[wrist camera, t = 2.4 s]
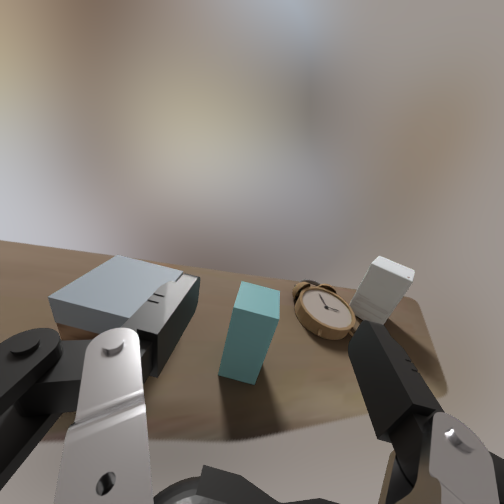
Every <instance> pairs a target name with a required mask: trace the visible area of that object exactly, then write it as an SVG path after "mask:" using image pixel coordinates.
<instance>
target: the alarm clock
mask: <svg viewBox="0 0 504 504" xmlns="http://www.w3.org/2000/svg"><path fill="white" fill-rule="evenodd" d="M309 283H310V284H313V285H316V286H317V287H310V284H309ZM292 295H293V297H294V299H295V298H296V297H299V298H298V300H297V301H296V304H295V313H296V316H297V318H298V319H299V321H300V323H301V324H302V325H303V326H304V327H305V328H306V329H308V330H309V331H311V332H312V333H314V334H315V335H317V336H320V337H322V338H325V339H330V340H338V339H342V338H344V337H345V336H347V334H348V333H349V334H350V335H351V336H353V335H354V334H353V332H351V331H350V330H351V328H352V327H353V326H354V324H355V321H356V319H355V314H354V312H353V310H352V308H351V307H350V306H349V304H348V303H347V302H346V301H345V300H344V299H342V298H341V297H340V296H339V295H337V294H336V291H335V289H334V288H333V287H332V286H331V285H329V284H320V283H318V282H316V281H313V280H308V279H304V280H301V281H300V283H298V284H297V285H294V289H293V292H292ZM295 300H296V299H295Z"/></svg>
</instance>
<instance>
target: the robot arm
mask: <svg viewBox="0 0 504 504" xmlns="http://www.w3.org/2000/svg"><path fill="white" fill-rule="evenodd" d="M199 287H200V277H197V276H193V275H189V274H186V273H185V274H183V275H182V276H181V277H180V279H179V280H178V281H177V282H174V281H169V282H167V283H165V284H163V285H161V286H160V287H159V288H158V289H157V290H156V291H155V292H154V293H153V295H151V296H150V297H149V298H148V300H147V301H145V302H144V304H143V305H142V306H141V307H140V308H139V309H138V310H137V311H136V312H135V313H134V314H133V315H132V316H131V317H130V318H129V319H128V320H127V321H126V322H125V323H124V324H123V325H122V326H121V327H120V328H114V329H110V330H108V331H105V332H103V333H101V334H99V335H98V336H97V337H95V338H94V339H91V340H63V341H61V339H60V336H59V334H58V332H57V331H55V330H53V329H49V328H37V329H31V330H28V331H24V332H21V333H19V334H16V335H14V336H12V337H10V338H8V339H7V340H5V341H3V342H2V343H0V490H1V489H2V488H3V487H4V485H5V484H6V483H7V482H8V480H9V479H10V478H11V477H12V475H13V474H14V473H15V472H16V471H17V469H18V468H19V467H20V465H21V464H22V463H23V462H24V461H25V459H26V458H27V457H28V456H29V454H30V453H31V452H32V451H33V449H34V448H35V447H36V446H37V444H38V443H39V442H40V441H41V439H42V438H43V437H44V436H45V434H46V433H47V432H48V431H49V429H50V428H51V427H52V426H53V424H54V423H55V422H56V421H57V419H58V418H59V417H60V416H61V414H62V413H64V412H73V411H77V412H76V418H75V421H74V423H73V424H71V425H70V426H69V428H68V431H67V434H66V437H65V442H64V447H63V453H62V459H61V465H60V470H59V476H58V481H57V488H56V493H55V499H54V504H339V503H335V502H332V501H328V500H325V499H321V498H318V499H310V500H303V501H296V502H288V503H280V502H278V501H276V500H274V499H273V498H272V497H270V496H269V495H268V494H266V493H265V492H263V491H262V490H261V489H259V488H258V487H256V486H255V485H253V484H252V483H251V482H249V481H248V480H246V479H245V478H244V477H242V476H241V475H237V474H234V473H230V472H227V471H223V470H220V469H216V468H212V467H209V466H206V465H203V469H202V473H201V476H199V477H191V478H188V479H184V480H181V481H179V482H177V483H174V484H172V485H170V486H169V487H167V488H166V489H164V490H163V491H161V492H159V493H158V494H157V495H156V496H155V497H153V489H152V478H151V467H150V455H149V444H148V432H147V421H146V409H145V399H144V392H143V384H144V383H145V381H146V379H147V378H148V376H153V377H156V378H158V376H159V374H160V373H161V371H162V369H163V367H164V366H165V364H166V362H167V360H168V359H169V357H170V355H171V353H172V352H173V350H174V348H175V346H176V345H177V343H178V341H179V339H180V337H181V336H182V334H183V332H184V330H185V329H186V327H187V325H188V323H189V322H190V320H191V318H192V316H193V315H194V313H195V310H196V307H197V303H198V296H199ZM348 354H349V358H350V361H351V364H352V366H353V369H354V372H355V375H356V378H357V381H358V384H359V387H360V390H361V393H362V396H363V399H364V401H365V404H366V407H367V410H368V413H369V416H370V419H371V422H372V425H373V427H374V431H375V434H376V436H377V439H379V440H382V441H386V442H389V443H392V445H393V448H394V450H393V451H392V452H391V454H390V456H389V461H388V465H387V469H386V473H385V478H384V481H383V485H382V490H381V494H380V498H379V502H378V504H504V459H502V458H500V457H498V456H497V455H495V454H493V453H491V452H489V451H488V450H487V448H486V447H485V445H484V444H483V443H482V442H481V440H480V439H479V438H478V437H477V435H476V434H475V433H474V432H473V431H472V430H471V429H470V428H468V427H467V426H466V425H465V424H464V423H462V422H461V421H460V420H458V419H457V418H455V417H453V416H451V415H449V414H447V413H445V412H444V411H443V409H442V408H441V406H440V404H439V403H438V401H437V400H436V398H435V397H434V395H433V393H432V392H431V390H430V389H429V387H428V386H427V384H426V383H425V381H424V380H423V378H422V376H421V375H420V373H418V372H417V371H418V370H417V369H416V367H415V366H414V364H413V363H411V359H410V358H409V356H408V355H407V353H406V352H405V350H404V349H403V348H402V347H401V346H400V345H399V344H398V343H397V342H396V341H395V340H394V339H393V338H392V337H391V336H390V334H389V332H388V331H387V329H386V328H385V326H384V325H383V324H379V323H376V322H372V321H368V320H364V321H362V322H361V324H360V325H359V327H358V329H357V330H356V332H355V334H354V335H353V337H352V339H351V340H350V342H349V345H348Z"/></svg>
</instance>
